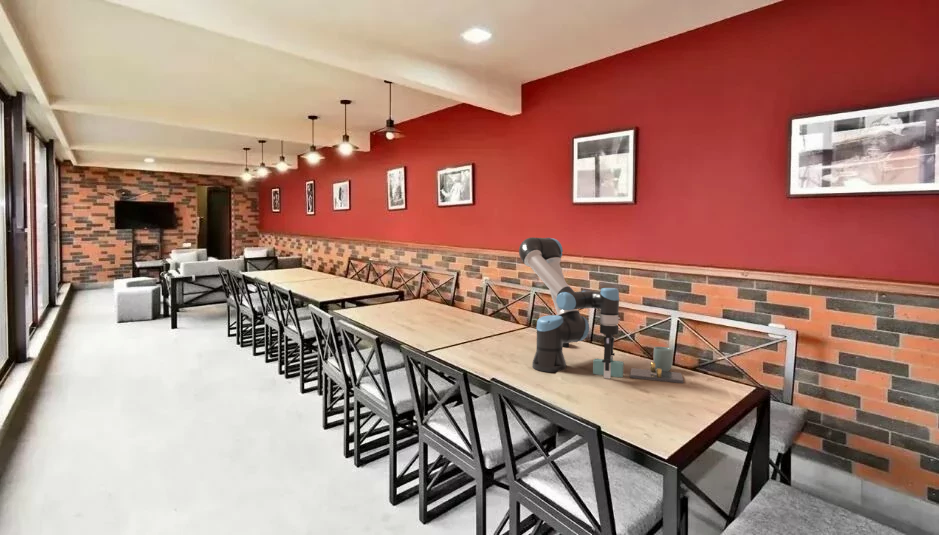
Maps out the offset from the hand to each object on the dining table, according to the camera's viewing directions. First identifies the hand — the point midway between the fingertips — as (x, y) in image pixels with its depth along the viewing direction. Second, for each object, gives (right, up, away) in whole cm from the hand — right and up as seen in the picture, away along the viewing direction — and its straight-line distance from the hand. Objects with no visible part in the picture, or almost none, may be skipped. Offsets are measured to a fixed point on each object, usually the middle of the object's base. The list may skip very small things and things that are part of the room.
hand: (608, 374), depth 192 cm
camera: (-10, +1, +50) cm, 52 cm away
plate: (+19, 0, -3) cm, 19 cm away
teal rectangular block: (0, 0, 0) cm, 0 cm away
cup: (+26, 0, +7) cm, 27 cm away
